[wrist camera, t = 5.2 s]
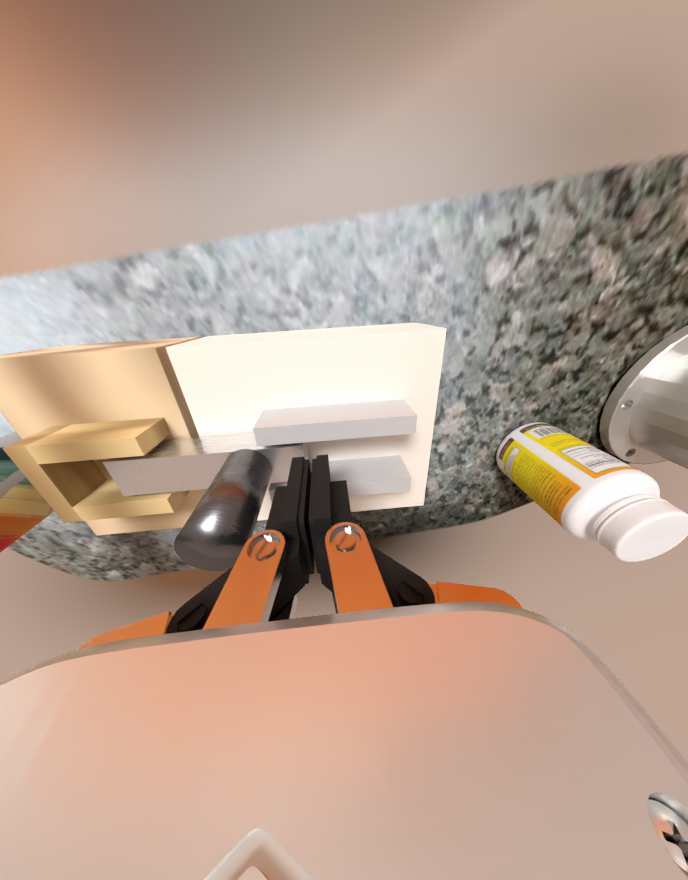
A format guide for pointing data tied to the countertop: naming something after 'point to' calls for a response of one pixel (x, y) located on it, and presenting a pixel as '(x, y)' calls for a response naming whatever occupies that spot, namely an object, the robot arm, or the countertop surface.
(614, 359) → the countertop surface
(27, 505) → the lotion bottle
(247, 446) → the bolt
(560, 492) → the supplement bottle
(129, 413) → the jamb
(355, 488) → the white slotted base
